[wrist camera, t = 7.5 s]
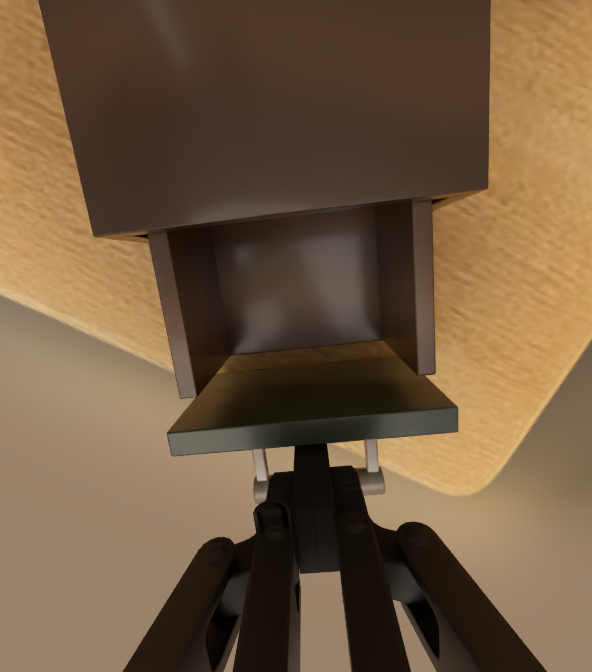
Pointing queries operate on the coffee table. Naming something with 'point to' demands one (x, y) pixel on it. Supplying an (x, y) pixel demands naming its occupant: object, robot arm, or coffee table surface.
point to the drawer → (303, 332)
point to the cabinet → (269, 106)
